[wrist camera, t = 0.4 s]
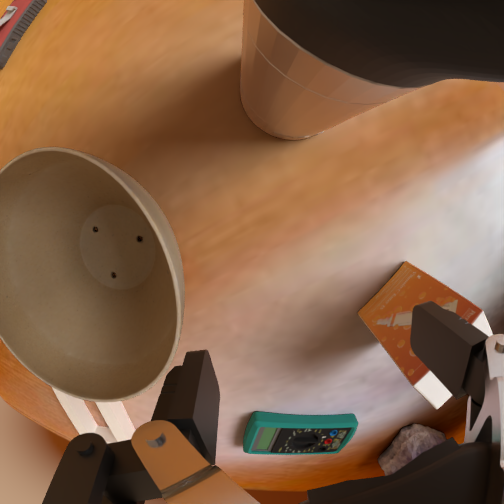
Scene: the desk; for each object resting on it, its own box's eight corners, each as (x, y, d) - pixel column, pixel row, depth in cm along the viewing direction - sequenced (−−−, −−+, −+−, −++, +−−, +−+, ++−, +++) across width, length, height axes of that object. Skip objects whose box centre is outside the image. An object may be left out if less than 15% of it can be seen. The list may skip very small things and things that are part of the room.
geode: (459, 423, 39) (475, 456, 30) (419, 453, 43) (431, 486, 33) (414, 414, 35) (435, 461, 25) (365, 450, 38) (377, 495, 29)
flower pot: (106, 119, 23) (30, 93, 11) (244, 239, 27) (249, 290, 15) (28, 254, 26) (-42, 290, 14) (139, 355, 29) (104, 432, 18)
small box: (404, 259, 28) (485, 307, 15) (429, 292, 29) (499, 345, 17) (354, 312, 29) (412, 388, 17) (383, 341, 31) (437, 411, 18)
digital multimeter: (337, 441, 36) (342, 455, 33) (240, 440, 34) (241, 456, 32) (357, 410, 34) (364, 424, 31) (251, 407, 33) (253, 424, 30)
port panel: (50, 352, 29) (38, 366, 26) (102, 356, 29) (91, 373, 26) (92, 431, 33) (85, 446, 30) (140, 438, 34) (134, 455, 30)
